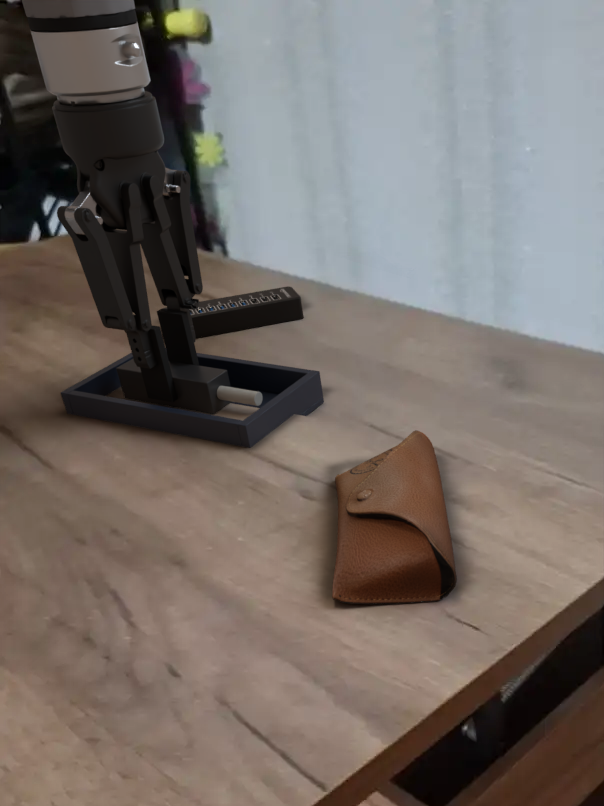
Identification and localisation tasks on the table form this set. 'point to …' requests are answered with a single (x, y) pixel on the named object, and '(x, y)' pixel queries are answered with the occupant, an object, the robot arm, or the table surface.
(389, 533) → the sunglasses case
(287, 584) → the table surface
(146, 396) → the black block with peg
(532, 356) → the table surface
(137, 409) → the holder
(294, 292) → the multiport hub
